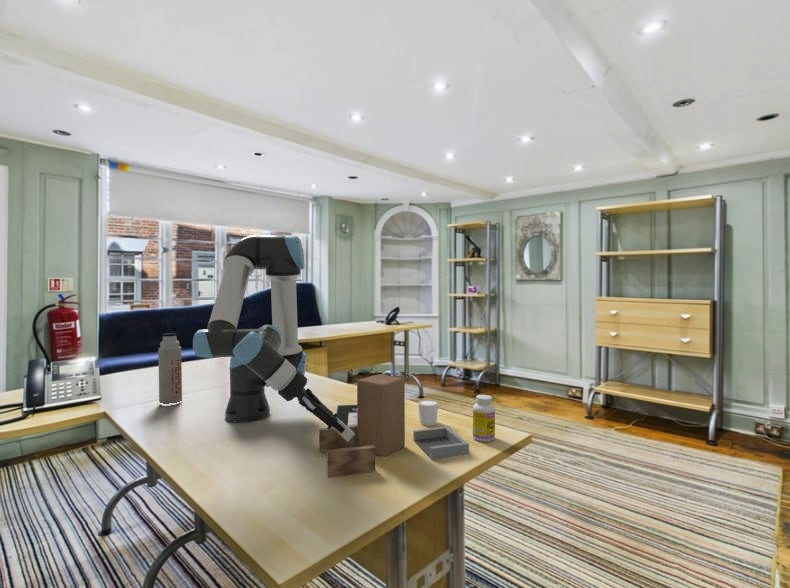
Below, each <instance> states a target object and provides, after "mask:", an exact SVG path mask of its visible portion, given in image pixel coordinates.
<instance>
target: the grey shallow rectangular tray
mask: <svg viewBox="0 0 790 588" xmlns="http://www.w3.org/2000/svg"><path fill="white" fill-rule="evenodd" d="M412 432H413V434H412V436H413V437H412V438H413V439H412V440H413V442H414V443H415V444H416V445H417V446H418V447H419V448H420V449H421V450H422V452H424V454H426V456H427V457H428V458H429V459H430V460H438V459H444V458H445V459H446V458H447V459H448V458H452V457H460V456H461V457H462V456H468V455H469V454H470V443H469V442H468V441H466V440H465V439H464V438H462V437H461V436H460V435H459V434H458V433H456V432H455V431H454V430H453V429H451V428H450V427H449V426H439V427H431V428H422V429H414V430H412Z"/></svg>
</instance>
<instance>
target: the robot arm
mask: <svg viewBox="0 0 790 588" xmlns="http://www.w3.org/2000/svg"><path fill="white" fill-rule="evenodd" d="M305 266H306V263H305V253H304V248H303V244H302V241H301V239H300V237H299V236H297V235H289V234H288V235H287V234H252V235H248V236H245V237H243V238H242V239H240V240H238V242H236V243H234V244H233V246H232V247H231V248H230V249H229V250H228V252H226V255H225V257H224V260H223V263H222V268H223V270H224V271H223V274H222V278H221V281H220V285H219V287H218V291H217V294H216V298H215V300H214V303H213V307H212V311H211V313H210V314H211V315H210V318H209V321H208V323H207V328H203V329H198V330H197V331H196V332H195V333H194V335H193V339H192V348H193V352H194V354H195V356H196V357H198V358H206V359H207V358H208V359H209V358H211V359H214V358H230V359H229V368H228V369H229V381H230V382H229V385H230V386H229V392H230V396H229V399H228V402H227V405H226V408H225V411H224V412H225V413H224V418H226V419H227V420H226V419H225V420H226V421H228V420H230V421H229V422H231V421H236V422H235V423H248V422H249V421H250V422H254V421H255V422H256V421H259V420H262V419H265V418H267V417H268V416H270V414H271V413H270V412H271V407H270V404H269V402H268V398H267V396H266V393H265V391H266V390H265V387H266V388H269V387H270V388H271V389H272V390H274V391H277V394H278V395H279V396H281V397H282V398H283V400H285V401H286V402H290V401H292V400H294V399H295V398H297V401H298V404H299V405H300V406H301V407H303V408H305V409H306V410H307V412H308V411H309V413H311V414H312V415H314V416H316V418H317V419H319V421H321V422H322V423H324V424H325V425H326V426H327V428H328V429H330V428H333V429H334V430H335V431H336V432H337V433H338V434H339V435H341V436H342V437H343V438H344V439H345V440H346V441H347V442H348V441H349V440H350V439H351V438H352V437H353V436H354V432H353V431H352V430H351V429H349V428H348V427H347V426H346V425H345V424H344V423H343V422H342V421H340V420H339V419H338V418H336V417H337V415H338V414H337V412H335V413H334V412H333V411H332V410H330V409H329V408H328V407H327V406H326V405H325V404H324V403H323V402H322V401H321V400H320V399H319V398H318V397H317V395H315V394H314V393H313V391H312V390H311V389H310V388H309V387H308V388H307V389H306V388H305V386H307V384H308V378H307V377H306V376H305V374H306V366H307V359H308V357H307V356H308V353H307V352H303V347H302V346H301V345H300V344H299V339H298V338H299V335H298V331H299V330H298V304H297V303H298V302H297V301H298V300H297V278H298V277H299V276H300V275H301V271H302V270H304V269H305ZM255 270H265V276H266V277H267V278H268V279H270V293H271V294H270V296H271V297H270V299H271V300H270V301H271V316H272V317H271V319H272V322H271V323H272V324H264V325H262V326H260V327H259V328H240V329H239V328H237V327H238V324H239V319H240V314H241V311H242V307H243V302H244V298H245V296H246V295H245V294H246V291H247V286H248V282H249V278H250V276H253V273H254V271H255Z"/></svg>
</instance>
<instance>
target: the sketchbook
mask: <svg viewBox="0 0 790 588" xmlns="http://www.w3.org/2000/svg"><path fill="white" fill-rule="evenodd" d="M336 413H337V414H338V415H337V417H336V418H338V419H339V420H340V421H342V422H343V423H344V424H345V425H346V426H347V425H356V424H357V404H338V405H337V408H336Z"/></svg>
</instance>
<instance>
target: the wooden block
mask: <svg viewBox="0 0 790 588" xmlns="http://www.w3.org/2000/svg"><path fill="white" fill-rule="evenodd" d="M405 382H406V381H405V378H403V377H399V376H394V375H386V374H382V373H381V374H375V375H370V376H367V377H364V378H360V379H358V380H356V385H357V386H356V394H357V395H356V396H357V397H356V398H357V399H356V402H357V404H356V405H357V440H358V447H363V446H371V445H374V446H375V456H376V455H377V456H379V457H382V458H384V457H387V456H389V455H391V454H392V453H394V452H396V451H398V450H400V449H402V448H403V447H405V446H406V441H405V440H406V436H405V435H406V433H405V430H406V428H405V427H406V426H405V425H406V421H405V420H406V419H405V418H406V415H405V413H406V411H405V410H406V406H405V404H406V402H405V401H406V399H405V398H406V397H405V396H406V395H405V394H406V393H405V392H406V391H405V389H406V388H405V386H406V384H405Z"/></svg>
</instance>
